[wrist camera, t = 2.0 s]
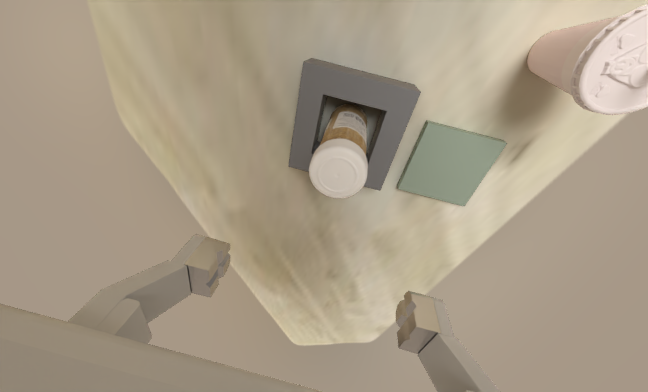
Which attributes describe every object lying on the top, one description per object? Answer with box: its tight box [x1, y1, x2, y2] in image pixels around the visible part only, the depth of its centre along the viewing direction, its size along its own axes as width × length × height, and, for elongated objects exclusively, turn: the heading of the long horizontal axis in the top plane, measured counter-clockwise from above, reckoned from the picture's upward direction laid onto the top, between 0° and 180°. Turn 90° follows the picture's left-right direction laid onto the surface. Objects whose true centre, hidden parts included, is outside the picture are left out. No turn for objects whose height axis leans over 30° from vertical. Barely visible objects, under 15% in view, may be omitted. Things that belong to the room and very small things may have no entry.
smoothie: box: [527, 5, 648, 115], centre depth 18 cm, size 6×6×14 cm
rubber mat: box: [397, 121, 507, 206], centre depth 31 cm, size 9×9×1 cm
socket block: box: [289, 58, 421, 190], centre depth 28 cm, size 11×11×4 cm
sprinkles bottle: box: [309, 104, 368, 198], centre depth 24 cm, size 5×5×14 cm
